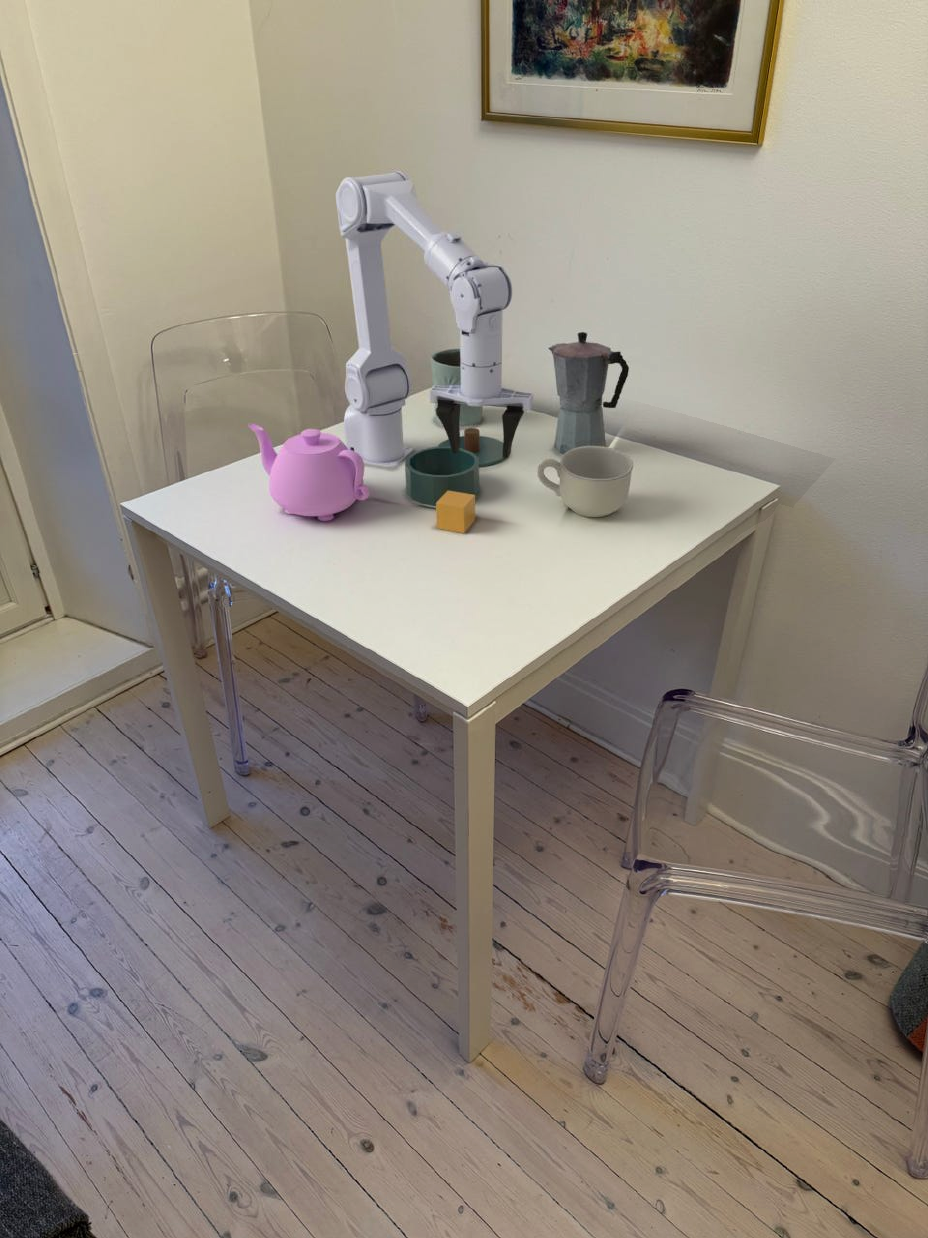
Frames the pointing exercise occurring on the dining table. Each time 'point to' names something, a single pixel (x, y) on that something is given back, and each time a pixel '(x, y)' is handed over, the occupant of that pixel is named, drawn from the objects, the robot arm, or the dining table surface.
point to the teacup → (591, 479)
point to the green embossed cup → (452, 382)
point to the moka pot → (583, 391)
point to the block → (455, 511)
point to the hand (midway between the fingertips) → (481, 452)
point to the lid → (480, 447)
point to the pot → (440, 474)
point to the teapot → (312, 473)
